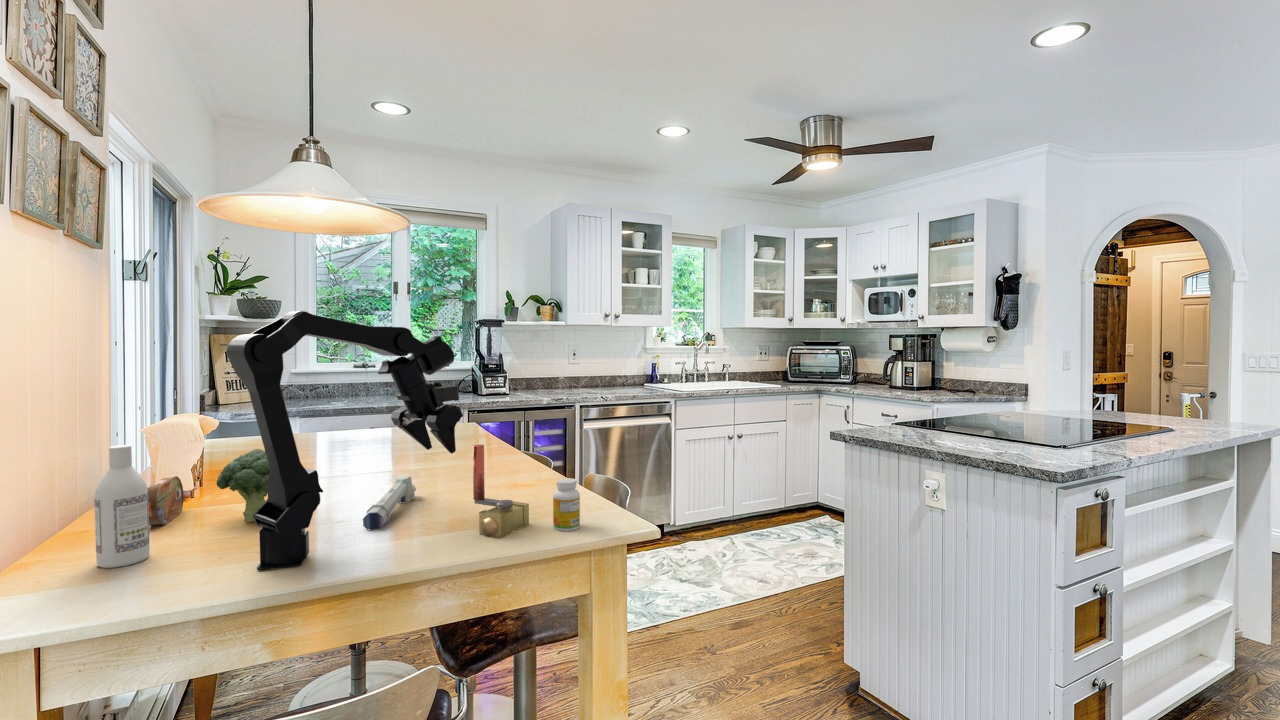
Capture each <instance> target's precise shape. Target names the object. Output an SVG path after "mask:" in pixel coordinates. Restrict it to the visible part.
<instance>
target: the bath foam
mask: <svg viewBox="0 0 1280 720" xmlns="http://www.w3.org/2000/svg"><path fill="white" fill-rule="evenodd" d="M132 452H133V451H132V445H131V444H119V445H111V446H109V447H108V463H109V468H108V469H107V470H106V472H105V474H104V475H103V476H102V478H101V479H100V480H99V482H98V484H97V486H96V488H95V491H94V499H93V502H94V527H95V529H94V533H95V557H96V558H95V559H96V565H97V566H98V567H100V568H105V569H110V568H114V569H115V568H122V567H128V566H131V565H134V564H137V563H141V562H142V561H144V560H146V559H148V557H149V556H150V555H151V554H150V553H151V552H150V551H151V550H150V548H151V547H150V546H151V545H150V525H149V507H148V489H147V488H148V486H147V483H146V481H145V479H144V477H143V476H142V475H141V473H139V471H138V470H136V469H135V467H134V466H133V458H132V457H133V454H132Z"/></svg>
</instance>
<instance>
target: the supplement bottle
mask: <svg viewBox="0 0 1280 720" xmlns="http://www.w3.org/2000/svg"><path fill="white" fill-rule="evenodd" d="M576 488H577V479H575V478H570V477H565V478H559V479H557V480H556V490H555V491H554V492H553V495H552V505H553V506H552V507H553V508H552V511H553V512H552V515H553V516H552V518H553V519H552V520H553V521H552V522H553V523H552V524H553V526H552V527H553V529H554V530H556V531H558V532H573V531H576V530H578V529H580V527H581V512H580V511H581V509H580V508H581V507H580V506H581V505H580V504H581V499H580V497H581V495H580V494H581V493H580V491H579V490H578V489H576Z"/></svg>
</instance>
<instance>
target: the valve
mask: <svg viewBox="0 0 1280 720" xmlns="http://www.w3.org/2000/svg"><path fill="white" fill-rule="evenodd" d="M512 501H513V500H512ZM478 515H479V517H478V518H479V520H478V522H479V523H478V527H479V529H478V530H479V533H478V534H479V535H481V536H485V537H488V538H496V537H497V538H496V539H502V538H504V537H506V536H508V535H510V534H511V532H512V533H514V532H516V531H518V530H520V529H521V528H525V527H527V526H529V525H530V503H527V502H521V501H513V507H512V508H509V509H498V508H497V507H495V506H494V507H492V508H490V509H488V510H486V509H483V510H482V511H479V512H478ZM515 530H516V531H515ZM513 531H514V532H513Z"/></svg>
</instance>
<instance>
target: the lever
mask: <svg viewBox="0 0 1280 720" xmlns="http://www.w3.org/2000/svg"><path fill="white" fill-rule="evenodd" d="M472 464H473V465H472V470H473V472H472V473H473V476H472V478H473V479H472V480H473V481H472V482H473V483H472V484H473V487H472V489H473V490H472V491H473V500H474V504H475V505H476V504H477V505H483V506H489V507H490V506H491V507H494V508H495V507H497V508H498V509H509V508H512V507H513V500H511V499H494V498H489V497H488V498H487V497H485V496H486V495H485V444H474V445H472Z"/></svg>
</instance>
